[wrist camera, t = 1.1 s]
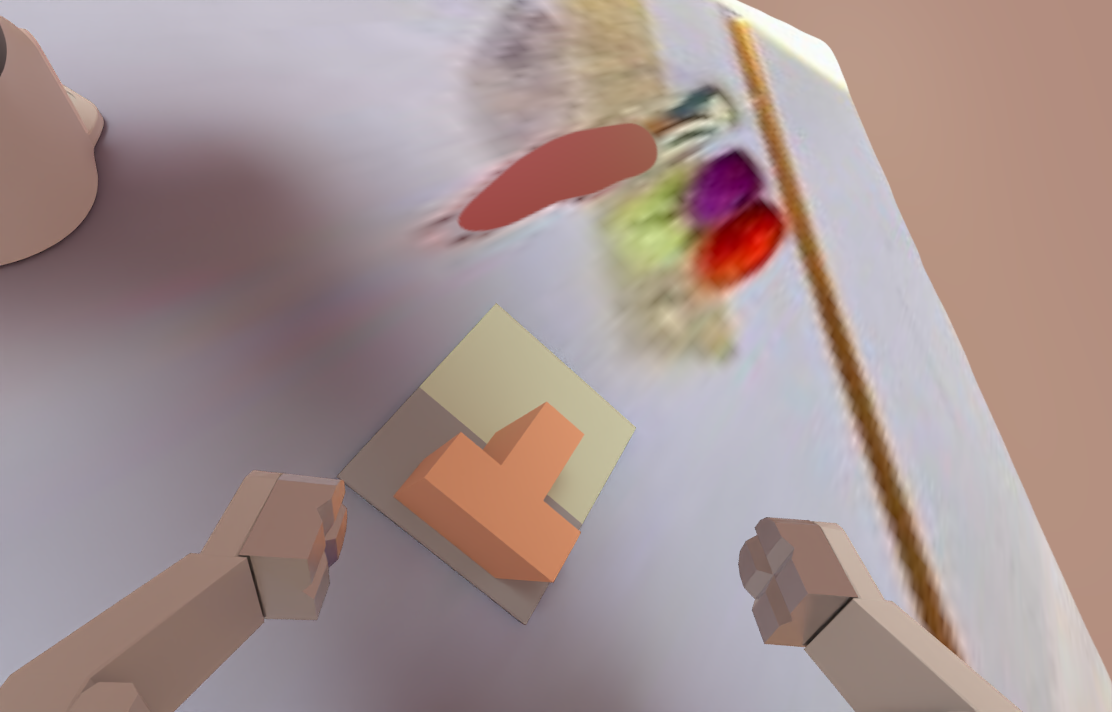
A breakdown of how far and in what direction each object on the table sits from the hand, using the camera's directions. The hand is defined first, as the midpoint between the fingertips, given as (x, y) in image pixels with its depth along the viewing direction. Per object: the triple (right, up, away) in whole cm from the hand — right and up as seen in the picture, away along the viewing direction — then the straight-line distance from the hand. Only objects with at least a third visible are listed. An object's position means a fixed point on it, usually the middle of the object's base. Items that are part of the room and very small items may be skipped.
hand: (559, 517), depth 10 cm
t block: (-6, -7, +31) cm, 32 cm away
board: (-4, -5, +33) cm, 34 cm away
